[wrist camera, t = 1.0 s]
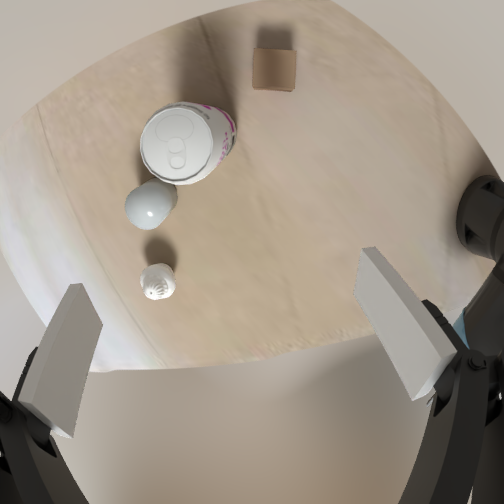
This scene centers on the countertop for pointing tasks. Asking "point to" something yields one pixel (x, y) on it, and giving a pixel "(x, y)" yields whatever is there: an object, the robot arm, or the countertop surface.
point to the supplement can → (186, 141)
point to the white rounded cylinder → (150, 203)
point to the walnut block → (274, 69)
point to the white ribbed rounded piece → (158, 281)
